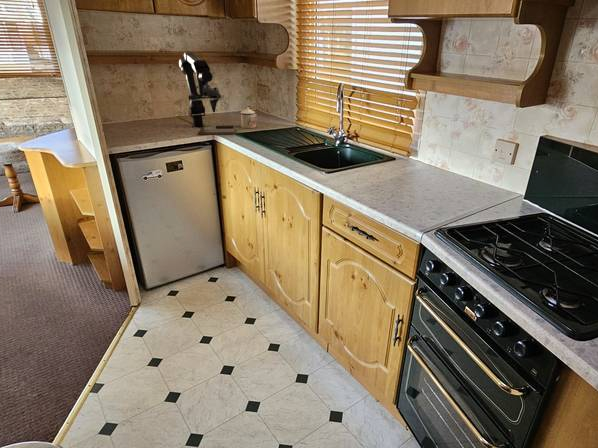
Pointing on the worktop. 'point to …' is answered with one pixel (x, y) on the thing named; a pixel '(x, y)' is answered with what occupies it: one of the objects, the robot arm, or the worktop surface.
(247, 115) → the teacup with lid
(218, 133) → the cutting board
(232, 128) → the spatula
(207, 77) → the robot arm
